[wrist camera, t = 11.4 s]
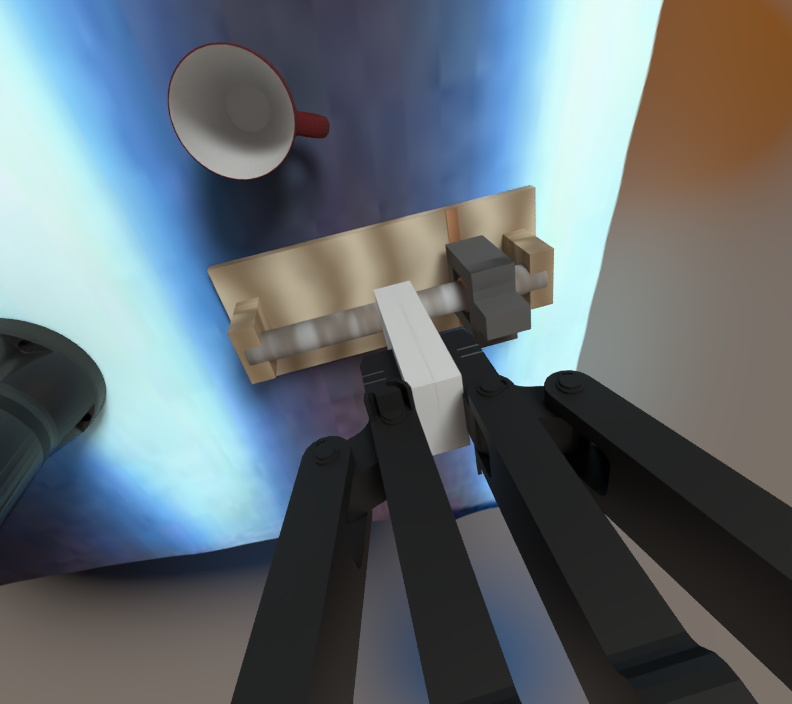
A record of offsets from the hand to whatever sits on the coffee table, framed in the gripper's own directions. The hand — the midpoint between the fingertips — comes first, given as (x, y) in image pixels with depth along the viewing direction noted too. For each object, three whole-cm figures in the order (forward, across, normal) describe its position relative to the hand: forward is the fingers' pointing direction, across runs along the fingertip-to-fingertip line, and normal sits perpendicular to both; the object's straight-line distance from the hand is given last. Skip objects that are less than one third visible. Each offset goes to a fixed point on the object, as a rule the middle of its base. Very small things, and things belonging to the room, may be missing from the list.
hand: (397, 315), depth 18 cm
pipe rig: (+28, +2, -12) cm, 31 cm away
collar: (+26, +11, -12) cm, 30 cm away
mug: (+29, -5, +7) cm, 30 cm away
